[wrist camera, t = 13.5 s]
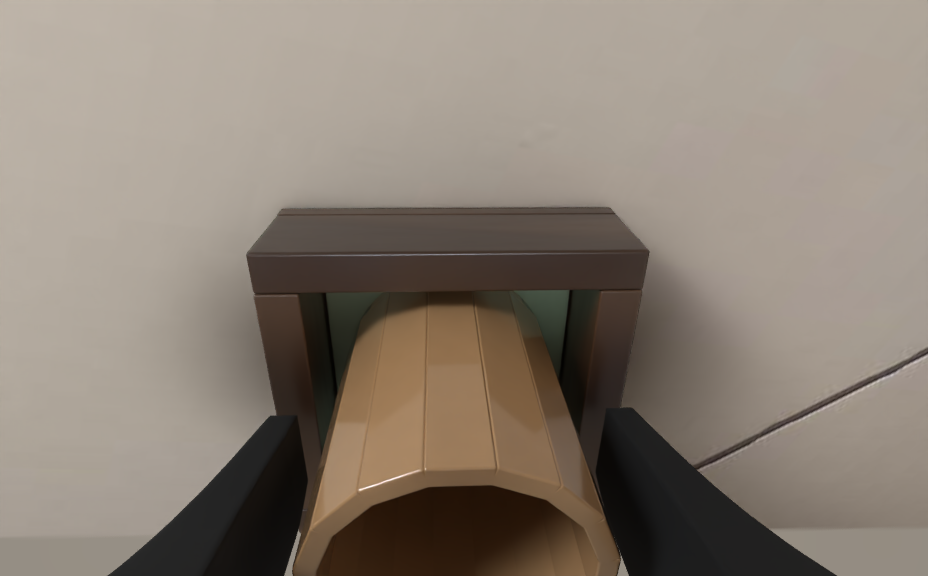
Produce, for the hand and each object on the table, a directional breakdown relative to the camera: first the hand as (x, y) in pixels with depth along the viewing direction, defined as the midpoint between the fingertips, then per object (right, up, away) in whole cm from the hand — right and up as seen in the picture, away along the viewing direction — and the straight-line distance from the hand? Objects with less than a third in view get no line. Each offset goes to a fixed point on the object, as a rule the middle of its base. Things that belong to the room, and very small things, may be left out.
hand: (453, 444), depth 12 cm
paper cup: (0, +2, +3) cm, 3 cm away
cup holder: (0, +2, +4) cm, 4 cm away
